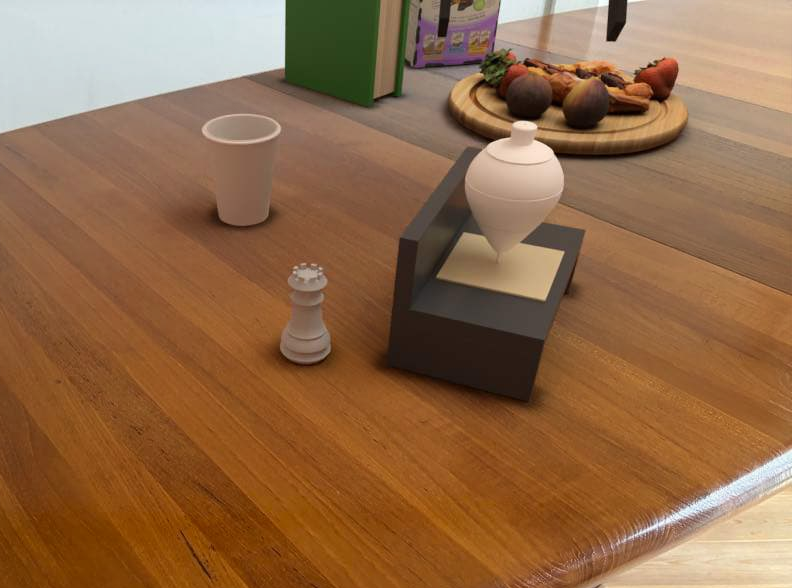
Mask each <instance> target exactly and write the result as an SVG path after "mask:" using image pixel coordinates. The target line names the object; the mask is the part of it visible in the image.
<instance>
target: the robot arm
mask: <svg viewBox="0 0 792 588" xmlns="http://www.w3.org/2000/svg"><path fill="white" fill-rule="evenodd" d="M450 8H451V0H440V11H439V23H438V34H437V37H446V36H447V31H448V25H449V19H450ZM627 14H628V0H608V5H607V20H606V37H605V39H606V40H605V42H608V43H612V42H613V43H615V42H617V40H618V38H619V36H620V35H621V33H622V31H623V29H624V27H625V26H626V25H627V16H628V15H627Z"/></svg>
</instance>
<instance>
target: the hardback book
mask: <svg viewBox="0 0 792 588" xmlns="http://www.w3.org/2000/svg"><path fill="white" fill-rule="evenodd" d="M284 3H285V4H284V5H285V9H284V27H285V28H284V30H285V31H284V81H285V82H288V83H291V84H294V85H297V86H301V87H302V88H306V89H309V90H313V91H316V92H319V93H322V94H326V95H328V96H332V97H335V98H338V99H340V100H341V99H342V100H345V101H348V102H351V103H354V104H357V105H360V106H364V107H367V108H370V107H373V106H374V99H377V98H380V97H382V96H386V95H390V96H393V97H400V96H402V93H403V83H404V71H405V63H406V61H405V52H406V41H407V31H408V20H409V10H410V0H284Z"/></svg>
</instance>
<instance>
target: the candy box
mask: <svg viewBox="0 0 792 588" xmlns="http://www.w3.org/2000/svg"><path fill="white" fill-rule="evenodd" d="M501 3H502V0H451V8H450V19H449V25H448V31H447V36H446V37H437V34H438V23H439V11H440V0H410V10H409V20H408V31H407V41H406V52H405V63H407V64H408V65H409V66H410V67H411V68H412V69H420V68H421V69H422V68H430V67H431V68H433V67H444V66H445V67H446V66H456V65H468V64H481V62H483V61H485V59H486V58H485V55H486V54H487V53H488V52H495V44H496V38H497V30H498V24H499V18H500V10H501Z"/></svg>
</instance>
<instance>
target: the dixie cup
mask: <svg viewBox="0 0 792 588" xmlns="http://www.w3.org/2000/svg"><path fill="white" fill-rule="evenodd" d="M281 132H282V127H281V125H280V124H279V123H278V122H277V121H276V120H275V119H273V118H271V117H268V116H265V115H261V114H254V113H233V114H226V115H221V116H217V117H214V118H212V119H210V120H208V121H207V122H206V123H204V125H203V126H202V128H201V134H202V135H203V137H204V139H205V146H206V150H207V157H208V162H209V168H210V172H211V180H212V185H213V190H214V197H215V202H216V209H217V213H218V218H219V220H220V221H222V222H223V223H224V224H225V223H226V224H228V225H231V226H237V227H239V226H240V227H247V226H248V227H249V226H254V225H258V224H260V223H263V222H264V221H266V219H268V217H269V212H270V205H271V197H272V189H273V180H274V174H275V173H274V172H275V165H276V158H277V157H276V156H277V149H278V140H279V136H280V134H281Z"/></svg>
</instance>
